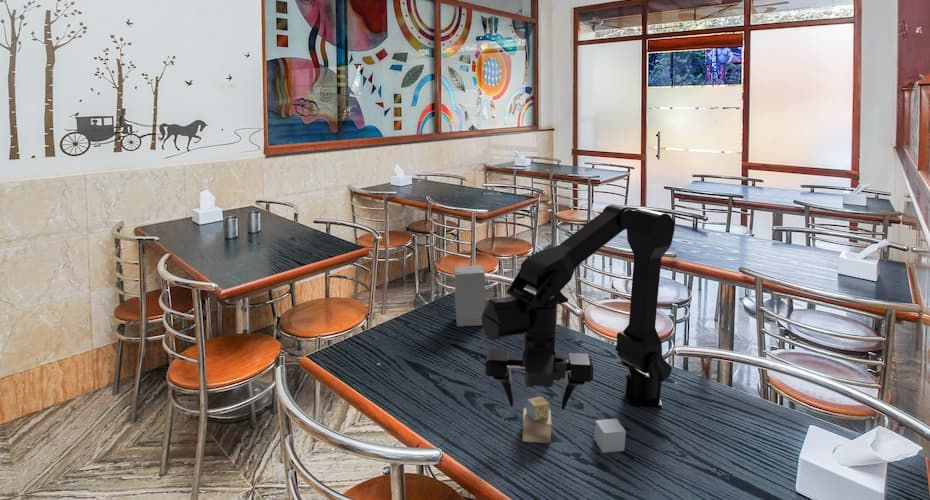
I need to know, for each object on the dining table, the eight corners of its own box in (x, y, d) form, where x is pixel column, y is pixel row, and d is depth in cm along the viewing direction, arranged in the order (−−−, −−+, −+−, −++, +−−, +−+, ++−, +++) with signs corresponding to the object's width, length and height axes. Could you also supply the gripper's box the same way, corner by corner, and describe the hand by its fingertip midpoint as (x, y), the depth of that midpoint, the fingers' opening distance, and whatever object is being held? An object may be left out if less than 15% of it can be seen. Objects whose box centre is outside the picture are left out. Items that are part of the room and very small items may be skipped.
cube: (615, 437, 101) (616, 418, 100) (624, 451, 97) (625, 431, 96) (594, 439, 100) (595, 420, 99) (602, 453, 97) (604, 433, 96)
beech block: (549, 428, 104) (550, 409, 103) (550, 443, 99) (551, 424, 98) (523, 426, 105) (523, 407, 104) (522, 441, 100) (523, 422, 99)
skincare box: (484, 317, 157) (484, 264, 152) (486, 327, 150) (486, 272, 146) (454, 317, 156) (454, 264, 152) (454, 327, 149) (454, 272, 145)
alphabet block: (525, 413, 102) (526, 398, 101) (540, 409, 103) (541, 395, 102) (533, 421, 99) (534, 406, 98) (548, 418, 100) (549, 403, 99)
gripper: (483, 345, 90) (482, 428, 94) (599, 350, 88) (593, 436, 92) (488, 319, 101) (487, 395, 105) (592, 323, 98) (587, 401, 103)
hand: (537, 406), depth 101 cm, fingers open, 9 cm apart
